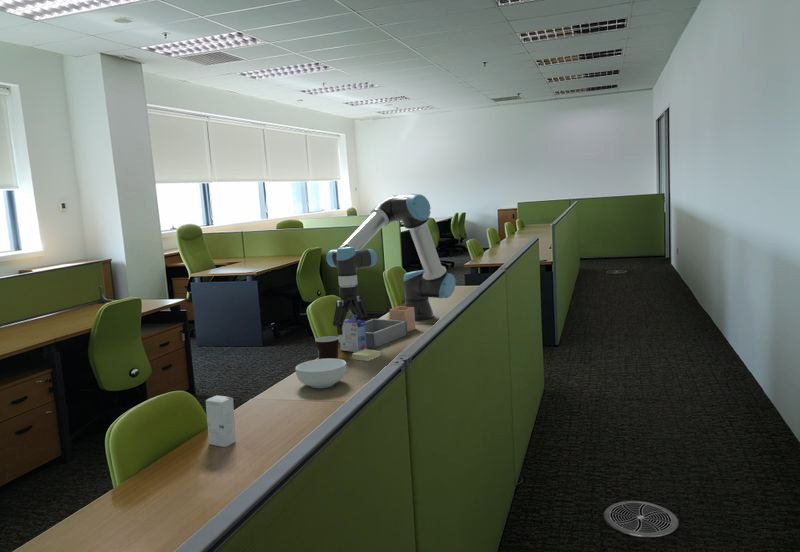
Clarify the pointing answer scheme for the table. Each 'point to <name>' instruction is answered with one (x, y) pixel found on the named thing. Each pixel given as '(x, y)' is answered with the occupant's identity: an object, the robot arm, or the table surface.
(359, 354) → the sticky note pad
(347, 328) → the ink cartridge box
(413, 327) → the pen holder
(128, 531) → the table surface
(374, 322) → the grey bin
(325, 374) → the cereal bowl
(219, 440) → the skincare box
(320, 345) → the coffee mug
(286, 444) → the table surface
